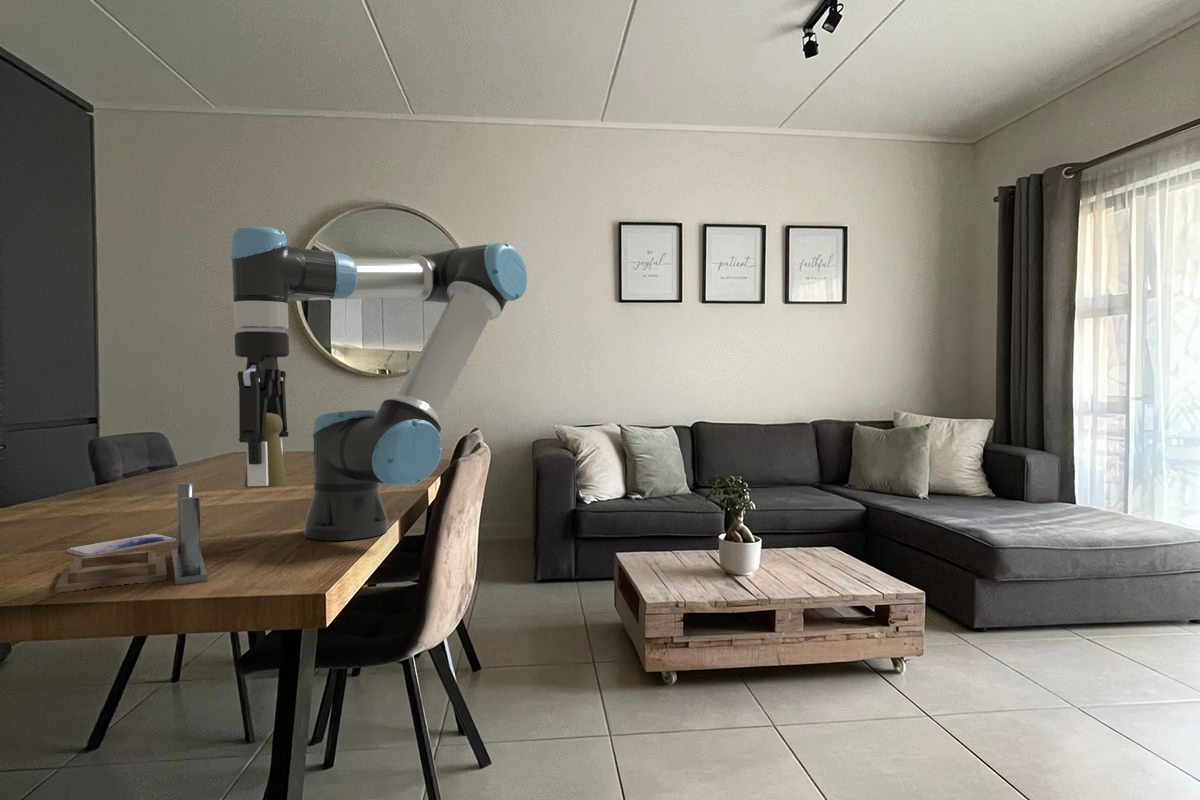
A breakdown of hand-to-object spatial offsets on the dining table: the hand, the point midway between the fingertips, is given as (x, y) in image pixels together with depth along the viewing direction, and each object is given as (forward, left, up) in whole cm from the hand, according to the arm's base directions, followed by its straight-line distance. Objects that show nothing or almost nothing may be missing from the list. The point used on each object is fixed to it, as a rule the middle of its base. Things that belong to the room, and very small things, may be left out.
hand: (266, 481), depth 113 cm
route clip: (+10, -7, -13) cm, 18 cm away
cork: (0, 0, -1) cm, 1 cm away
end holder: (+20, -7, -13) cm, 25 cm away
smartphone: (+19, -30, -14) cm, 38 cm away
